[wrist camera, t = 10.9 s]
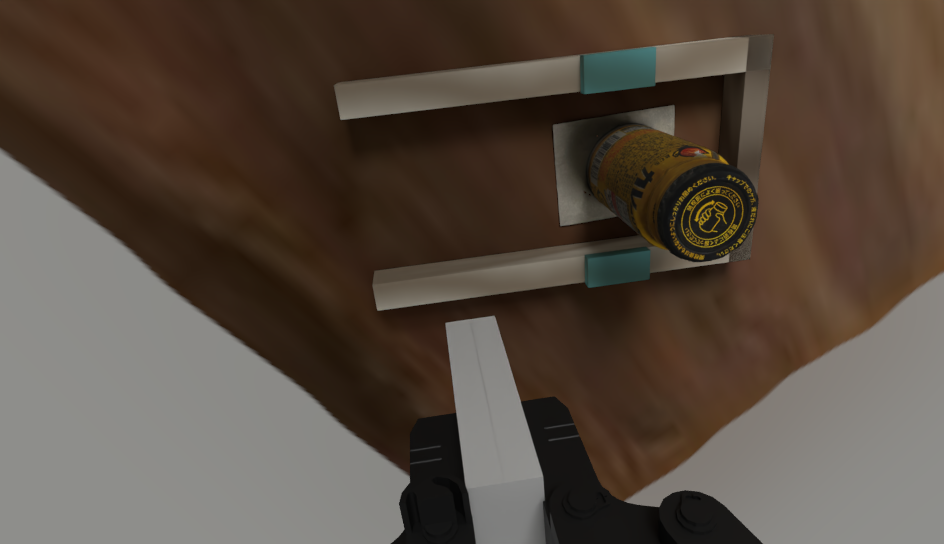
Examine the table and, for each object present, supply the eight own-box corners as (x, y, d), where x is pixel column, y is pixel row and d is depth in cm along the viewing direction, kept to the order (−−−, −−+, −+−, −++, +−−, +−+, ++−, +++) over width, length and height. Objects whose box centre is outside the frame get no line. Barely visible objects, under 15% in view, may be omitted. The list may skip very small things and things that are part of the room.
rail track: (338, 80, 34) (331, 84, 31) (750, 33, 36) (782, 32, 33) (379, 296, 41) (376, 317, 37) (731, 248, 42) (756, 264, 39)
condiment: (672, 206, 40) (771, 268, 29) (559, 225, 40) (616, 295, 29) (673, 104, 37) (783, 130, 26) (551, 123, 37) (611, 158, 26)
